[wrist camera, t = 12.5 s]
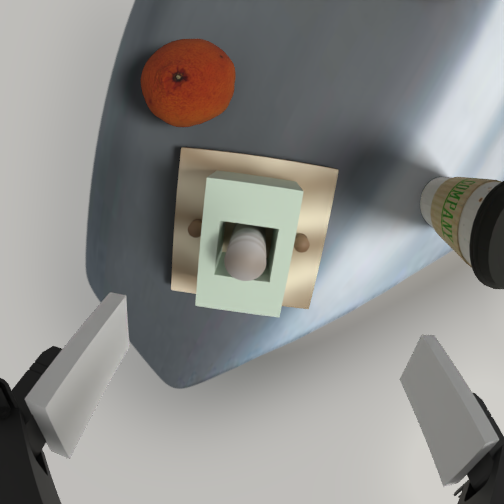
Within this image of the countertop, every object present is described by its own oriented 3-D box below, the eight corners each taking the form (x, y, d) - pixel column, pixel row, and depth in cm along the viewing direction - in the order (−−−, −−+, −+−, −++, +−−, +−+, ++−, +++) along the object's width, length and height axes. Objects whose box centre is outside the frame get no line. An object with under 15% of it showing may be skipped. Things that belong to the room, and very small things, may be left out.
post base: (184, 147, 32) (156, 151, 23) (335, 168, 32) (361, 180, 23) (174, 284, 37) (150, 327, 28) (307, 302, 38) (318, 351, 29)
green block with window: (277, 288, 35) (279, 317, 30) (205, 278, 35) (195, 305, 30) (296, 181, 31) (303, 191, 26) (216, 170, 31) (206, 177, 26)
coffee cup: (453, 147, 30) (541, 163, 16) (479, 216, 33) (557, 257, 19) (393, 187, 32) (468, 223, 18) (424, 256, 35) (492, 317, 21)
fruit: (249, 111, 30) (245, 103, 23) (169, 138, 32) (142, 139, 24) (225, 38, 28) (214, 11, 20) (147, 66, 29) (117, 49, 21)
